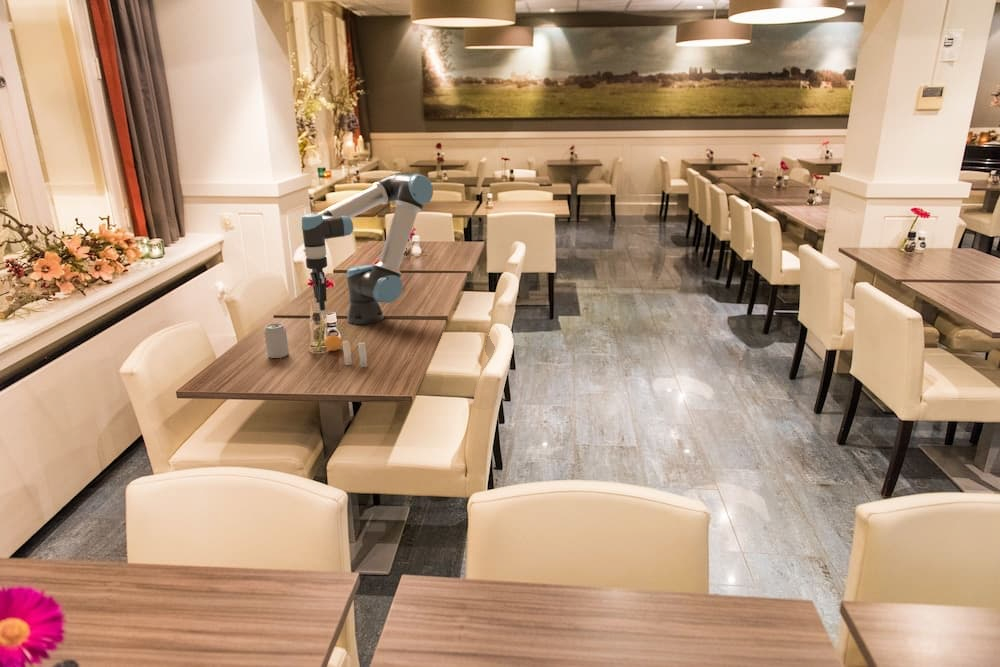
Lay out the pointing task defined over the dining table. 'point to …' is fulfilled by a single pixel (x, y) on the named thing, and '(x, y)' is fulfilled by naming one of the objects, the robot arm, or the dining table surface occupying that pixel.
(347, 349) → the pin
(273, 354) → the can
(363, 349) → the pin
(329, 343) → the ball
